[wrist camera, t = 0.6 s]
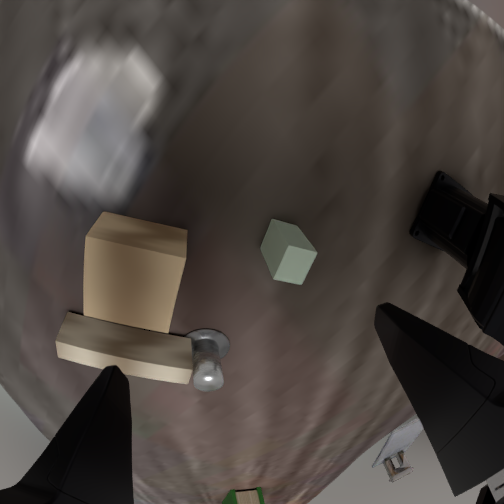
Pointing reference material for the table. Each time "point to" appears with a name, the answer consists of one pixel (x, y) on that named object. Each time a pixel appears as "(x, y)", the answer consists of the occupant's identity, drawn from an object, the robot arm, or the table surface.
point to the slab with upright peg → (399, 449)
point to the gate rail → (125, 349)
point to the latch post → (287, 252)
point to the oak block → (133, 271)
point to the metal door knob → (208, 358)
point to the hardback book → (244, 497)
